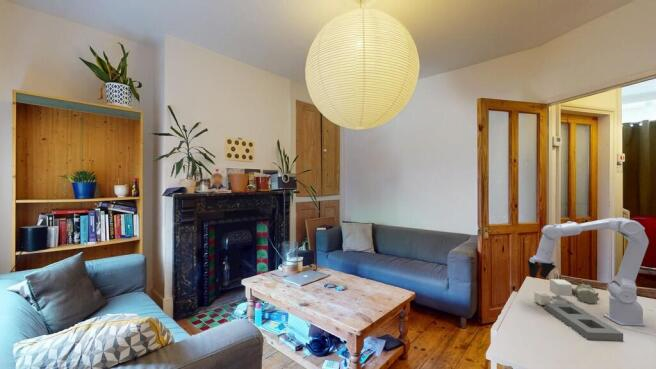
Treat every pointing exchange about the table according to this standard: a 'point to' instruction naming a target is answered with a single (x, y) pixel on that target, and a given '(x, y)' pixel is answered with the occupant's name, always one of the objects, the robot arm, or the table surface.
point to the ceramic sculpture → (586, 293)
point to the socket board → (583, 322)
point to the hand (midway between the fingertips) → (537, 276)
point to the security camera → (560, 290)
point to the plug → (541, 297)
